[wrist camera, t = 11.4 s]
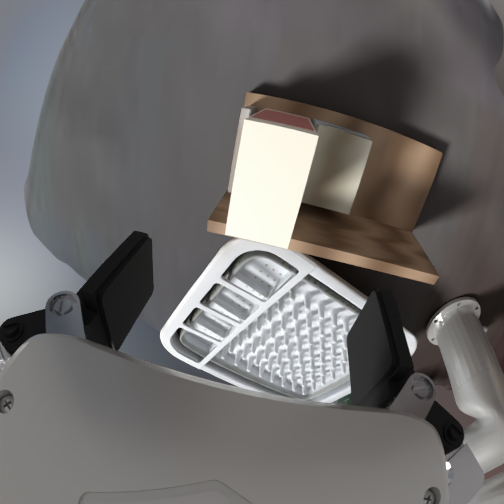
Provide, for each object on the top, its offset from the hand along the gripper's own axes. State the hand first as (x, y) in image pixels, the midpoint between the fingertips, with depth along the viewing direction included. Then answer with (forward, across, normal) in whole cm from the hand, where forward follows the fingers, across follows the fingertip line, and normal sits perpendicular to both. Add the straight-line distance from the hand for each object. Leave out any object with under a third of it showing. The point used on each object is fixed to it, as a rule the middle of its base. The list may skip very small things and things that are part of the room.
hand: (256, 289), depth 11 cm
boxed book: (+24, +1, -1) cm, 24 cm away
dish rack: (+27, -8, +28) cm, 39 cm away
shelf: (+26, -7, 0) cm, 27 cm away
